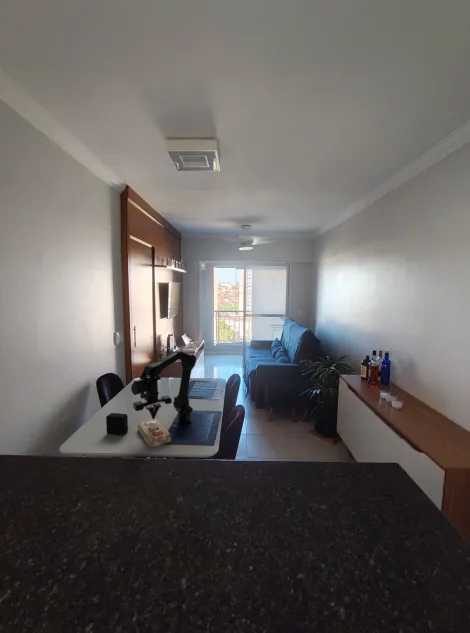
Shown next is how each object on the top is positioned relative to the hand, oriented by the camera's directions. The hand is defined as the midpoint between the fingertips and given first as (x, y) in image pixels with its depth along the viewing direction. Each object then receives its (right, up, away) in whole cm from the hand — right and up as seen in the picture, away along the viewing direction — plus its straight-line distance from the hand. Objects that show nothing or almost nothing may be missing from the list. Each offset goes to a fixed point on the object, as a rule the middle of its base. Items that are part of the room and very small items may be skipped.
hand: (153, 418), depth 154 cm
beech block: (0, -9, +1) cm, 9 cm away
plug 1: (-4, -8, +6) cm, 11 cm away
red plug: (+4, -9, -5) cm, 10 cm away
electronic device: (-20, -9, +4) cm, 23 cm away
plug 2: (0, -6, 0) cm, 6 cm away
